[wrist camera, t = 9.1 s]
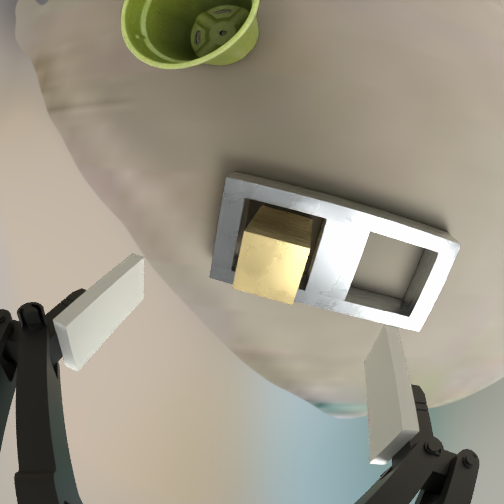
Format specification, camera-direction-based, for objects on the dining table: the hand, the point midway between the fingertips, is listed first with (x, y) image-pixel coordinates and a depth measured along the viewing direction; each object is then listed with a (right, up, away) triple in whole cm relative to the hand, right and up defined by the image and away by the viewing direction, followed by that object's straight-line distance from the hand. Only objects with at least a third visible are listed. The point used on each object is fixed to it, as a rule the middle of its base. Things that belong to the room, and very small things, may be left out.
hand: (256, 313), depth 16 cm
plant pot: (-3, +22, +6) cm, 23 cm away
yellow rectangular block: (+2, +5, +12) cm, 13 cm away
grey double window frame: (+7, +3, +11) cm, 14 cm away
